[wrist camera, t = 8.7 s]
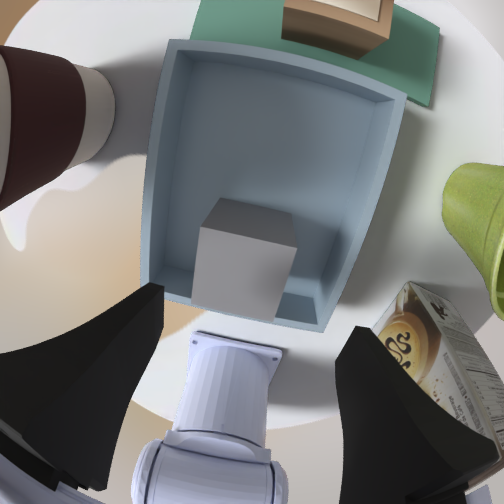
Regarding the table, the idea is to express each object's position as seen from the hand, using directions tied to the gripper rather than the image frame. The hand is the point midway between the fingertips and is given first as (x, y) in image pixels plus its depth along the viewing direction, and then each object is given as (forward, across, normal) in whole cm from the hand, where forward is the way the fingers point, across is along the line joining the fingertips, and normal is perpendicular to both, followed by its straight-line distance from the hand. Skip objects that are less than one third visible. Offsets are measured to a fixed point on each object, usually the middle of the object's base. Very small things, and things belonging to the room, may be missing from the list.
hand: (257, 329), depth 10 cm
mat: (+9, 0, -14) cm, 17 cm away
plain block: (+9, +1, 0) cm, 9 cm away
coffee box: (+10, -14, +6) cm, 18 cm away
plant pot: (+10, -14, -6) cm, 19 cm away
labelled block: (+9, 0, -14) cm, 17 cm away
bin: (+9, +1, -3) cm, 10 cm away
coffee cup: (+10, +15, -6) cm, 19 cm away
